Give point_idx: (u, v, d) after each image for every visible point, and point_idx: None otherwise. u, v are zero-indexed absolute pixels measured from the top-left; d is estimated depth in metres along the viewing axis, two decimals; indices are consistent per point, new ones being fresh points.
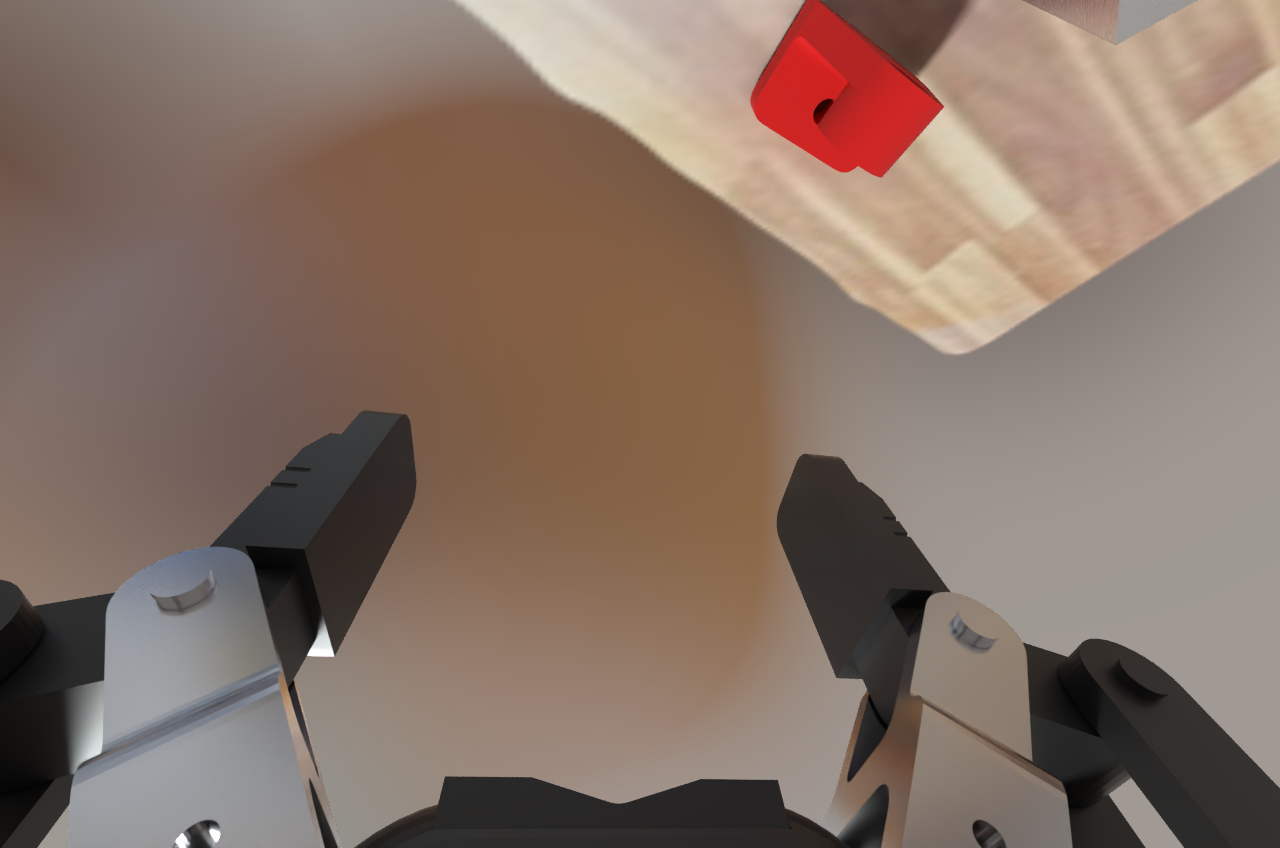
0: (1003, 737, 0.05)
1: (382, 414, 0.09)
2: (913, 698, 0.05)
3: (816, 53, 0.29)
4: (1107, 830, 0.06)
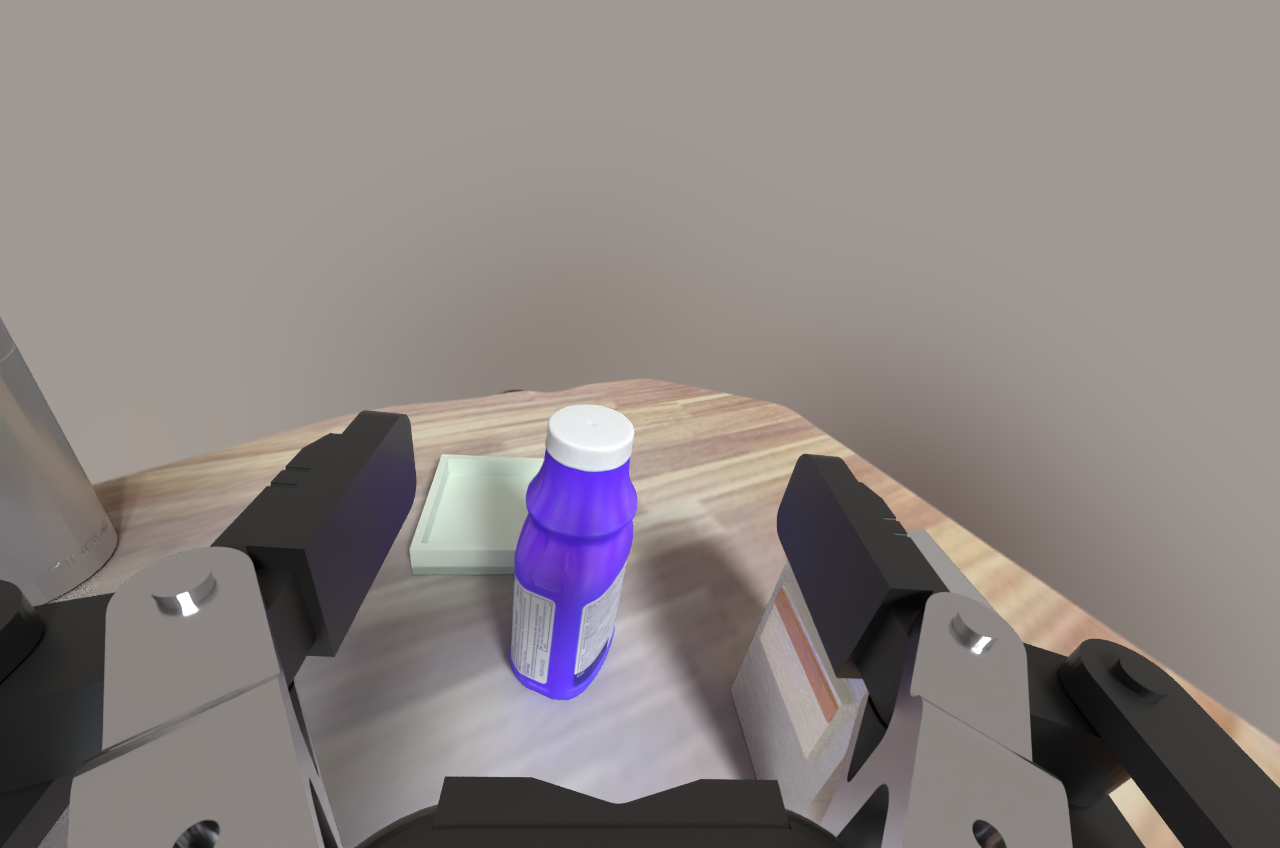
0: (1003, 737, 0.05)
1: (382, 414, 0.09)
2: (913, 698, 0.05)
3: None
4: (1107, 830, 0.06)
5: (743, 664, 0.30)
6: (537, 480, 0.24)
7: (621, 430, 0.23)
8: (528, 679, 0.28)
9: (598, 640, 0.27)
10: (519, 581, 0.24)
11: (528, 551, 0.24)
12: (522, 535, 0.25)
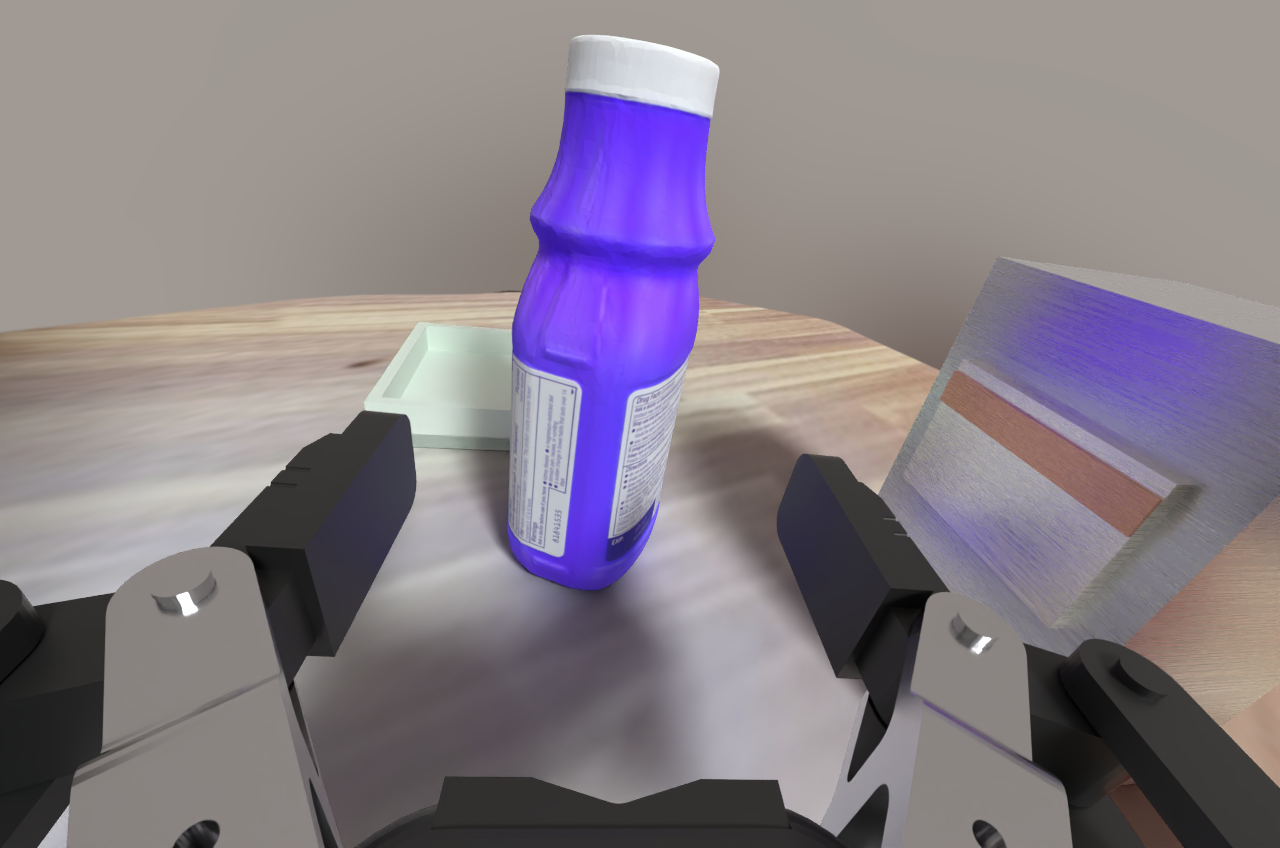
0: (1002, 737, 0.05)
1: (382, 414, 0.09)
2: (913, 698, 0.05)
3: None
4: (1107, 830, 0.06)
5: None
6: (550, 177, 0.14)
7: None
8: (534, 553, 0.18)
9: (645, 485, 0.17)
10: (519, 358, 0.15)
11: (535, 299, 0.14)
12: (525, 285, 0.15)
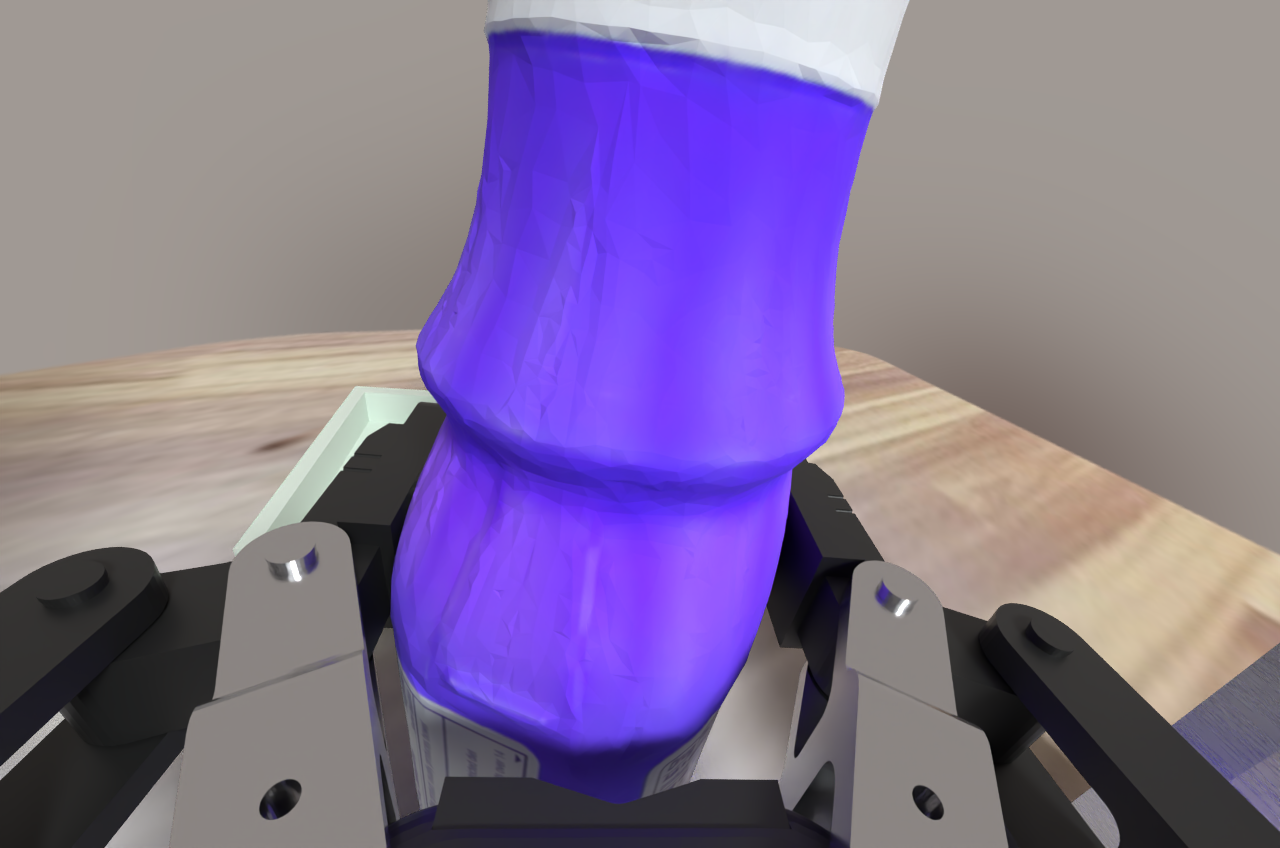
0: (906, 686, 0.06)
1: (438, 405, 0.09)
2: (849, 672, 0.05)
3: None
4: (1029, 781, 0.07)
5: None
6: None
7: None
8: None
9: None
10: (400, 661, 0.06)
11: (427, 547, 0.06)
12: (416, 487, 0.07)
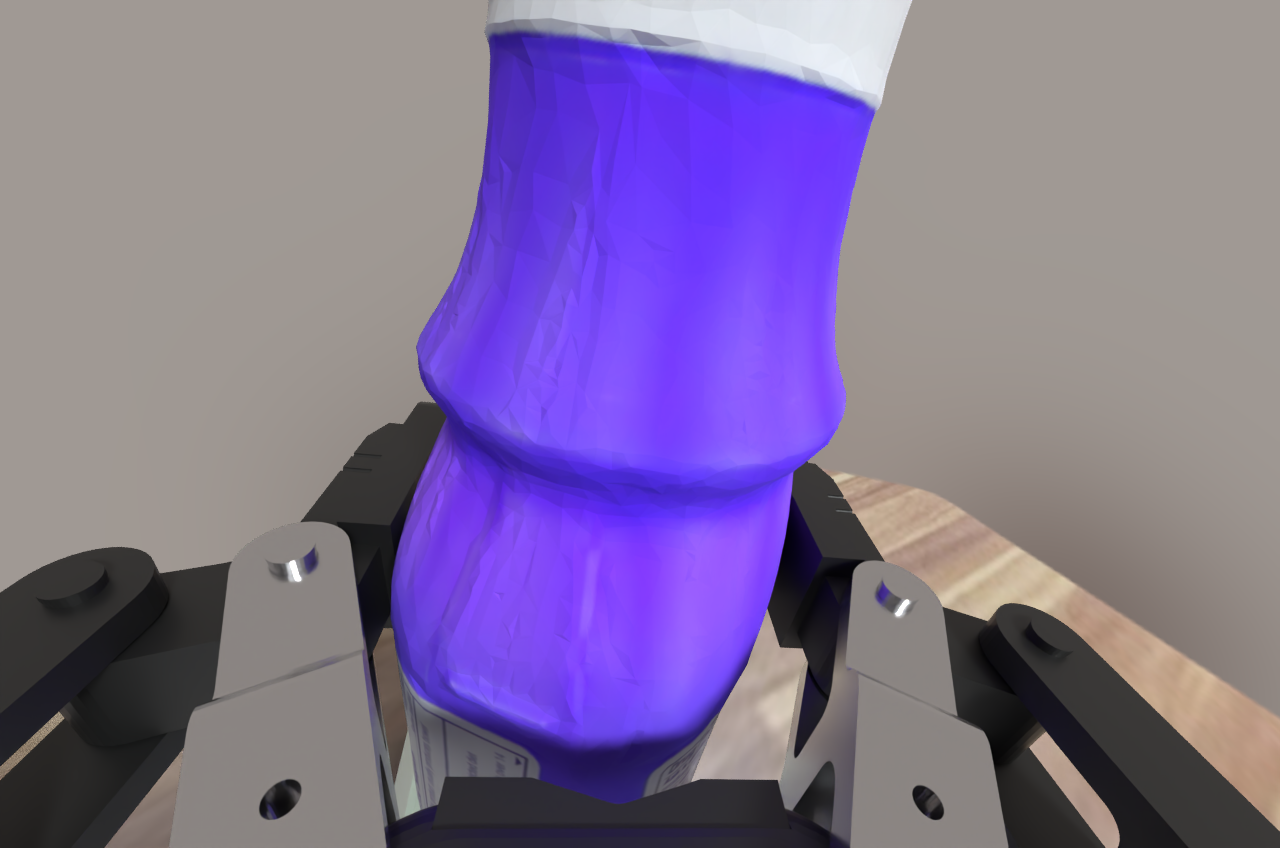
0: (906, 686, 0.06)
1: None
2: (849, 672, 0.05)
3: None
4: (1029, 781, 0.07)
5: None
6: None
7: None
8: None
9: None
10: (400, 664, 0.06)
11: (428, 549, 0.06)
12: (416, 489, 0.07)
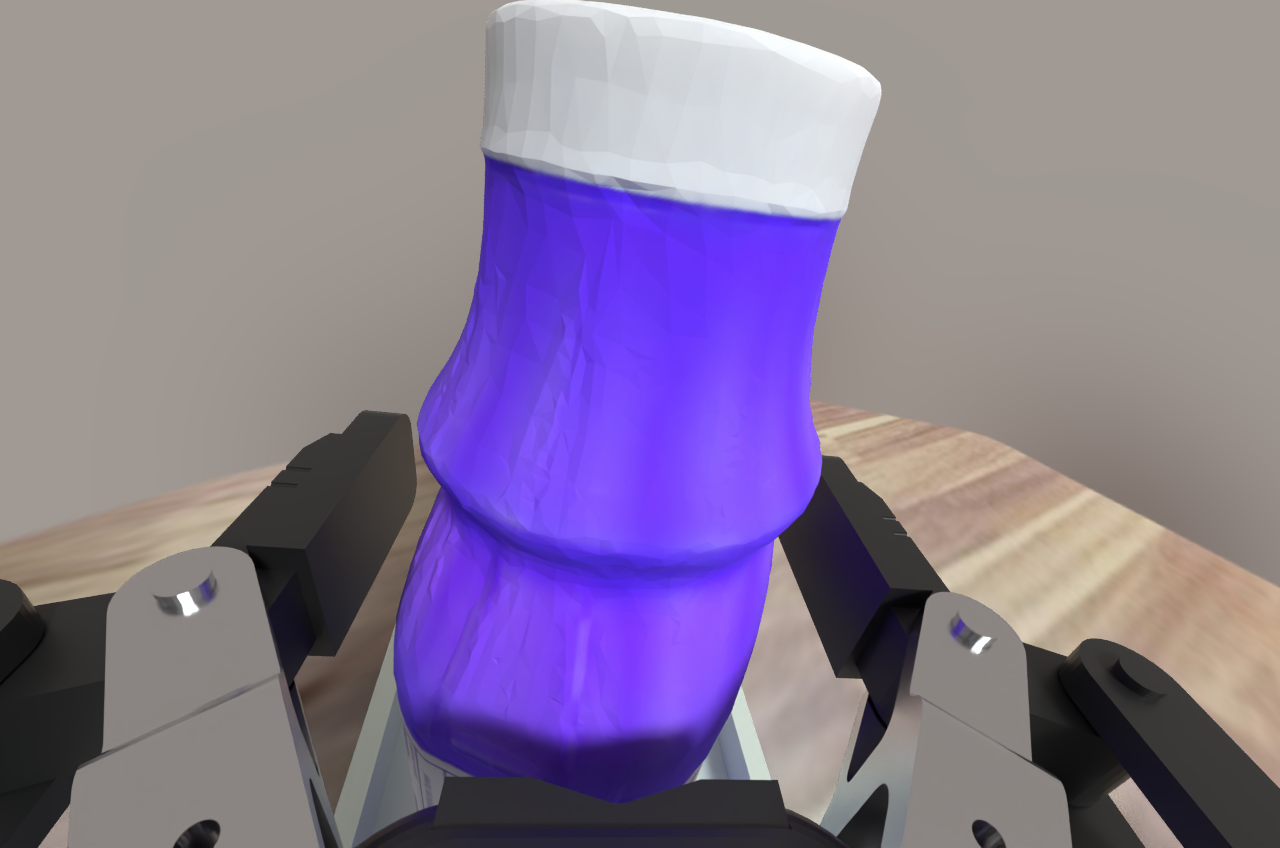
0: (1002, 737, 0.05)
1: (382, 414, 0.09)
2: (913, 698, 0.05)
3: None
4: (1106, 830, 0.06)
5: None
6: (461, 336, 0.06)
7: None
8: None
9: None
10: (404, 716, 0.07)
11: (428, 612, 0.06)
12: (417, 549, 0.07)
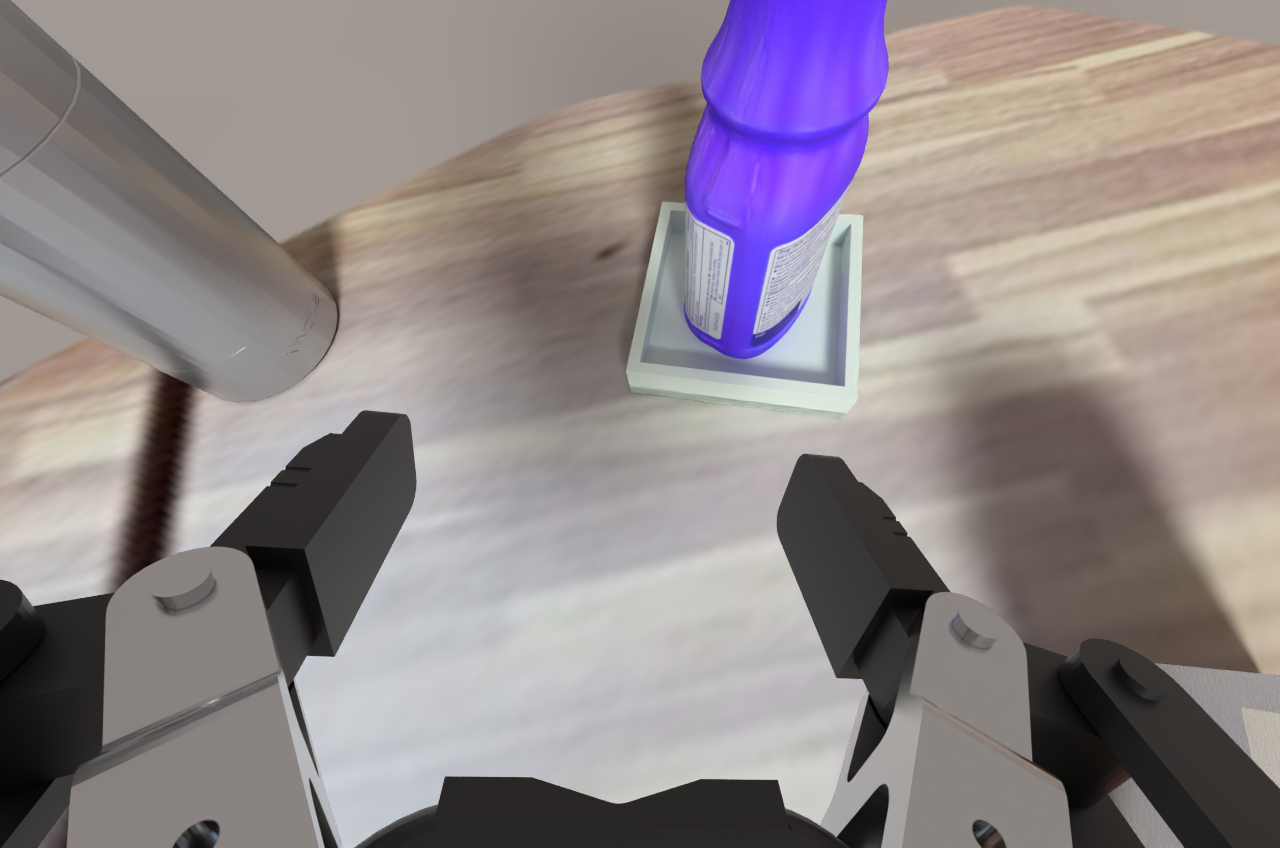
0: (1003, 737, 0.05)
1: (382, 414, 0.09)
2: (914, 698, 0.05)
3: None
4: (1107, 830, 0.06)
5: None
6: (720, 33, 0.15)
7: None
8: (701, 332, 0.25)
9: (787, 299, 0.22)
10: (689, 209, 0.18)
11: (702, 163, 0.17)
12: (695, 139, 0.17)
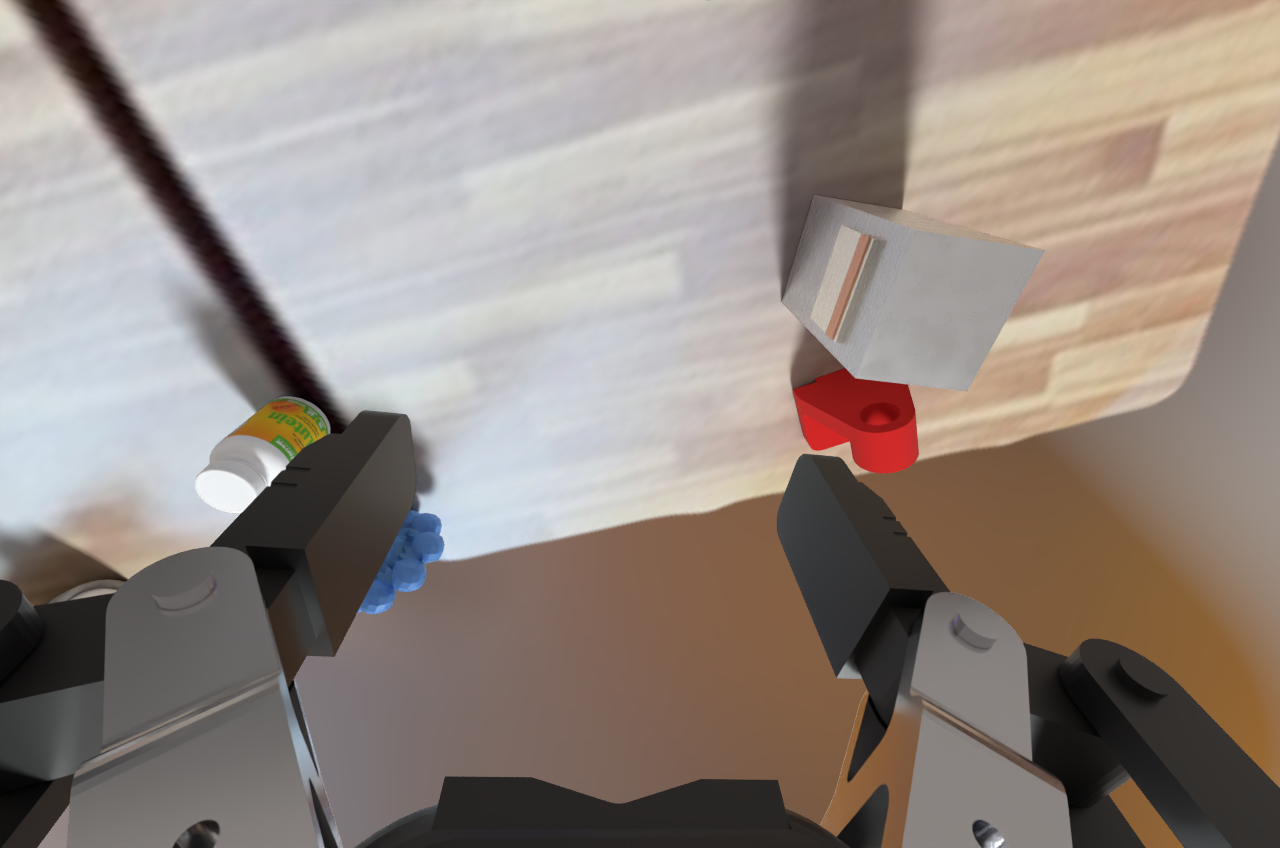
0: (1003, 737, 0.05)
1: (382, 414, 0.09)
2: (913, 698, 0.05)
3: None
4: (1107, 830, 0.06)
5: (828, 202, 0.33)
6: None
7: None
8: None
9: None
10: None
11: None
12: None
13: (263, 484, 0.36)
